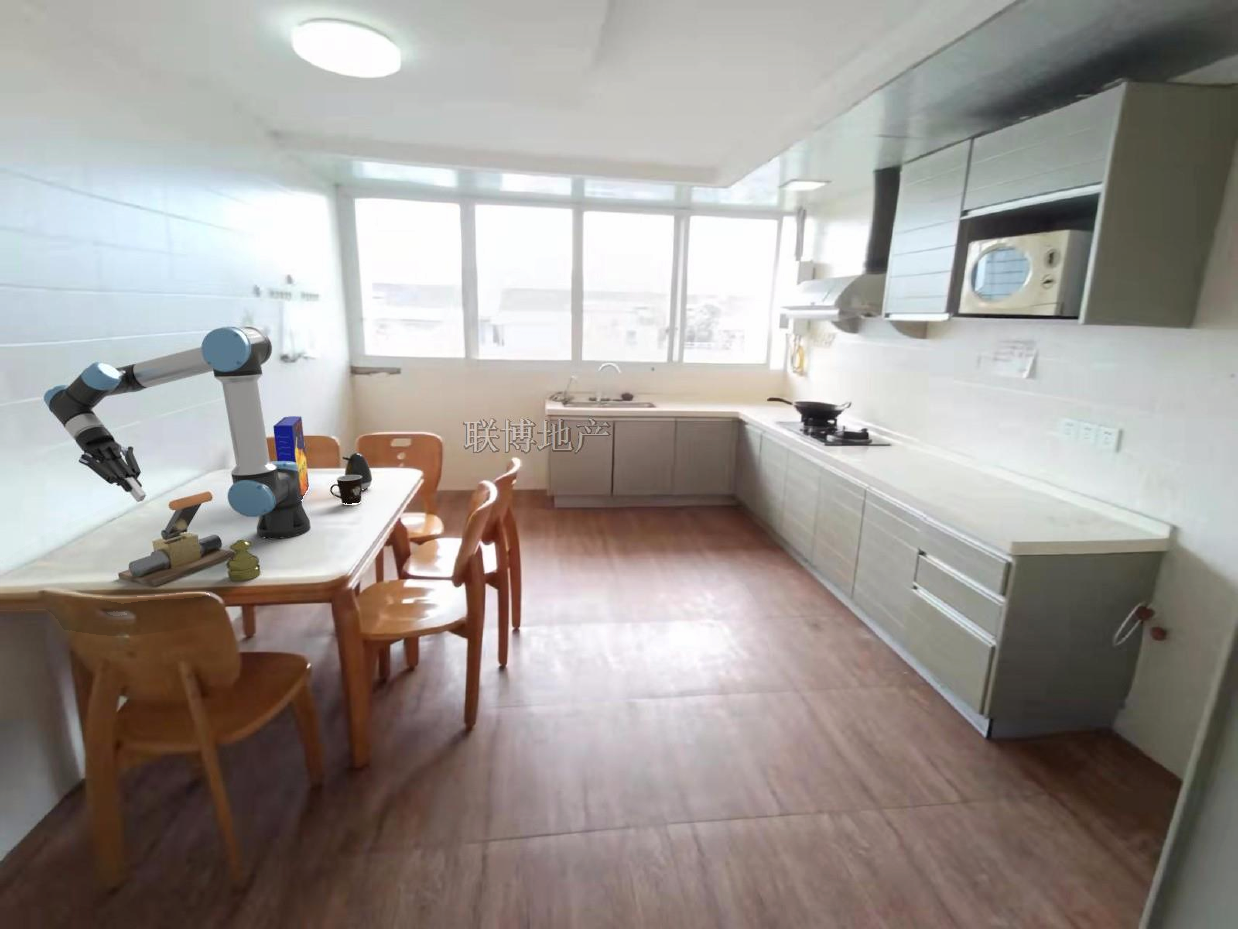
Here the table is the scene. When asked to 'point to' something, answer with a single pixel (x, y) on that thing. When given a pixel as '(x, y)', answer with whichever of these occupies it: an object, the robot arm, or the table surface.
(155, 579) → the pipe valve
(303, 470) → the cereal box
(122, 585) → the table surface
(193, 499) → the valve lever
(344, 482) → the coffee mug
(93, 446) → the robot arm
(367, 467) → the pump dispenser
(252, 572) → the gold pawn figurine
